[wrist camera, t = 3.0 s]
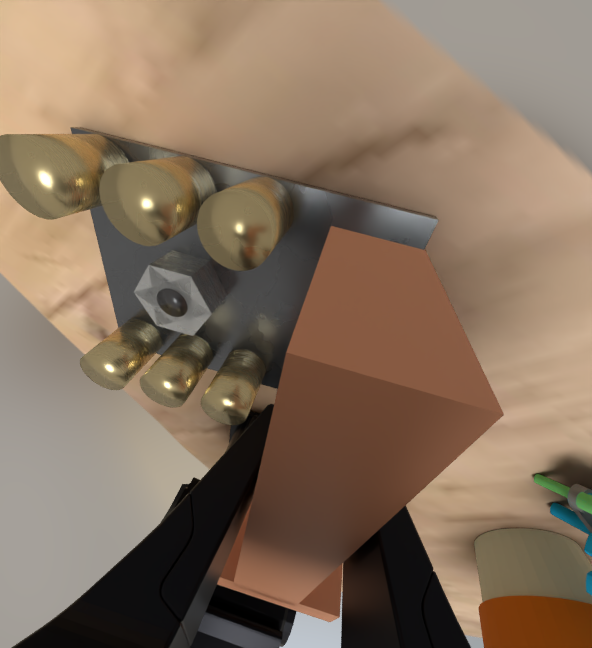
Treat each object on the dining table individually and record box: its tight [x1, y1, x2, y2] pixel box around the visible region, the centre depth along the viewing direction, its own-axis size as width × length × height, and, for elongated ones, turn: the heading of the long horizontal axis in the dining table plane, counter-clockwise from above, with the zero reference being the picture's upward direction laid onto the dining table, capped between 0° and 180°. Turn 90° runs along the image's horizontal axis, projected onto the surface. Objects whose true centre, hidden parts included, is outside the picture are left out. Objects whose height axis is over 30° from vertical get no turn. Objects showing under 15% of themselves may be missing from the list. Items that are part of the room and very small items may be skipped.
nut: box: [134, 250, 227, 336], centre depth 16 cm, size 4×5×2 cm
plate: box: [0, 127, 438, 425], centre depth 16 cm, size 14×18×5 cm
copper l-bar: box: [217, 226, 504, 622], centre depth 9 cm, size 6×14×5 cm, turn 169°
